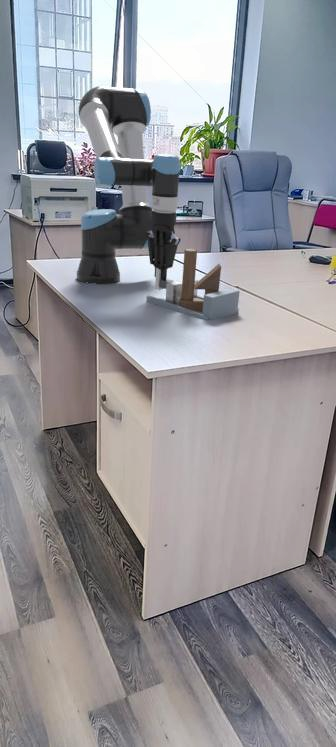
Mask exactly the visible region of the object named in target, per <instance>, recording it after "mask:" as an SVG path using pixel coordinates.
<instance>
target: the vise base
mask: <svg viewBox="0 0 336 747" xmlns="http://www.w3.org/2000/svg"><path fill="white" fill-rule="evenodd" d="M240 293H241V292H240V290H239V289H235V288H227V289H224V290H219V292H214V293H210V294H206V295H205V294H203V296H201V295H198V294H197V298H199V299H203V300H204V301H203V311H201V312H202V313H200V312H199V311H192V310H189V309H186V308H184V307H181V306H178V305H175V304H172V303H169V302H166V300H164V299H160V298H158V297H154V296H153V295H147V296H146V302H147V303H150V304H154V305H157V306H160V307H163V308H167V309H170V310H172V311H176V312H178V313H183V314H185V315H189V316H192V317H196V318H199V319H203V320H206V321H212V320H215V319H218V318H219V319H220V318H223V317H228V316H231V315H236V314H237V313H239V310H240V309H239V302H240V301H239V298H240Z"/></svg>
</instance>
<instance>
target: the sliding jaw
mask: <svg viewBox="0 0 336 747" xmlns="http://www.w3.org/2000/svg"><path fill="white" fill-rule="evenodd" d="M182 280H183V279H180V280H172V279H169V278H166V279H163V280H162V279H160V287H161V288H164V289H165V301H166V302H169V303H172V304H175V305H178V306H180V298H181V294H182ZM198 281H199V279H196V278H195V284H196V283H197V282H198ZM198 290H199V289H195V288H194V298H197V295H198Z"/></svg>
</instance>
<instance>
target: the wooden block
mask: <svg viewBox="0 0 336 747" xmlns="http://www.w3.org/2000/svg"><path fill="white" fill-rule="evenodd" d="M183 253H184V254H183V265H182V267H183V268H182V279H181V280H182V294H181V298H180V306H181V307H184V308H186V309H189V310H192V311H195V312H203V301H204V300H203V299H199V298H194V288H195V289H198V290H202V291H204V295H206V294H210V293H214V292H219V291H220V290H219V289H220V282H221V271H222V266H221V264H220V263H217V265H216V266H214V267H213V268H212V269H211V270H210V271H208V272H207V273H206V274H205V275H204V276H202V277H201V279H198V282H197V283H196V284H195V279H196V270H197V269H196V268H197V259H198V254H197V253H198V250H197V249H196V248H195V249H194V248H186V249H184V252H183Z"/></svg>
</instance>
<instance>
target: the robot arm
mask: <svg viewBox="0 0 336 747" xmlns="http://www.w3.org/2000/svg"><path fill="white" fill-rule="evenodd" d="M151 108H152V107H151V102H150V99H149V96H148V94H147V93H146V92H145V90H142V89H139V88H137V89H136V88H133V87H130V88H129V87H117V86H108V85H107V86H106V85H98V86H95V87H92V88H91V89H89V90H88V91H86V93H84V95H83V96H82V97H81V99H80V102H79V105H78V111H77V112H78V117H79V120H80V123H81V125H82V126H83V127H84V128H85V129H86V131H87V134H88V137H89V140H90V143H91V146H92V148H93V151H94V154H95V157H96V158H95V160H94V162H93V176H94V181H95V182H96V184H97V185H103V186H104V185H106V186H121V196H122V206H121V207H120V208H119V210H118V211H119V213H117V211H116V210H115V209H111V208H109V209H105V208H102V209H101V208H100V209H94V210H89V211H86V212H84V213H83V214H82V216H81V220H80V221H81V223H80V224H81V225H80V231H81V235H80V237H81V257H80V260H79V264H78V268H77V270H76V280H77V279H78V280H77V281H79V280H80V281H79V282H81V281H84V282H88V283H87V284H90V283H96V284H95V285H110V284H109V283H111V284H114V283H115V282H116V283H118V282H120V280H121V272H120V269H119V266H118V263H117V259H116V250H130V249H131V250H136V249H138V250H143V249H148V257H149V263H150V265H152V266H153V267H154V278H155V279H154V280H155V282H154V284H155V285H154V289H155V290H158V291H160V290H163V289H164V288H161V287H160V279H162V280H163V279H168V276H167V273H168V269H172V268H173V266H174V263H175V257H176V254H177V251H178V246H179V244H180V242H181V241H182V240H181V237H177V236H176V231H175V226H176V224H177V215H178V214H177V213H176V211H178V198H179V197H178V194H179V181H180V179H179V178H180V171H181V167H180V166H181V164H180V160H181V159H180V157H179V156H178V155H174V154H163V153H161V154H159V153H157V154H155V155H154V156H153V158H147V159H145V153H144V140H143V138H144V137H143V135H144V133H145V132H146V130H147V127H148V126H149V125H150V123H151V118H152V116H151V113H152V109H151ZM111 126H112V127H111ZM115 136H116V137H117V140H116V138H115ZM147 187H152V191H151V194H152V195H151V205H150V204H149V203H148V202H149V201H148V192H147ZM84 282H83V283H84Z"/></svg>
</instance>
